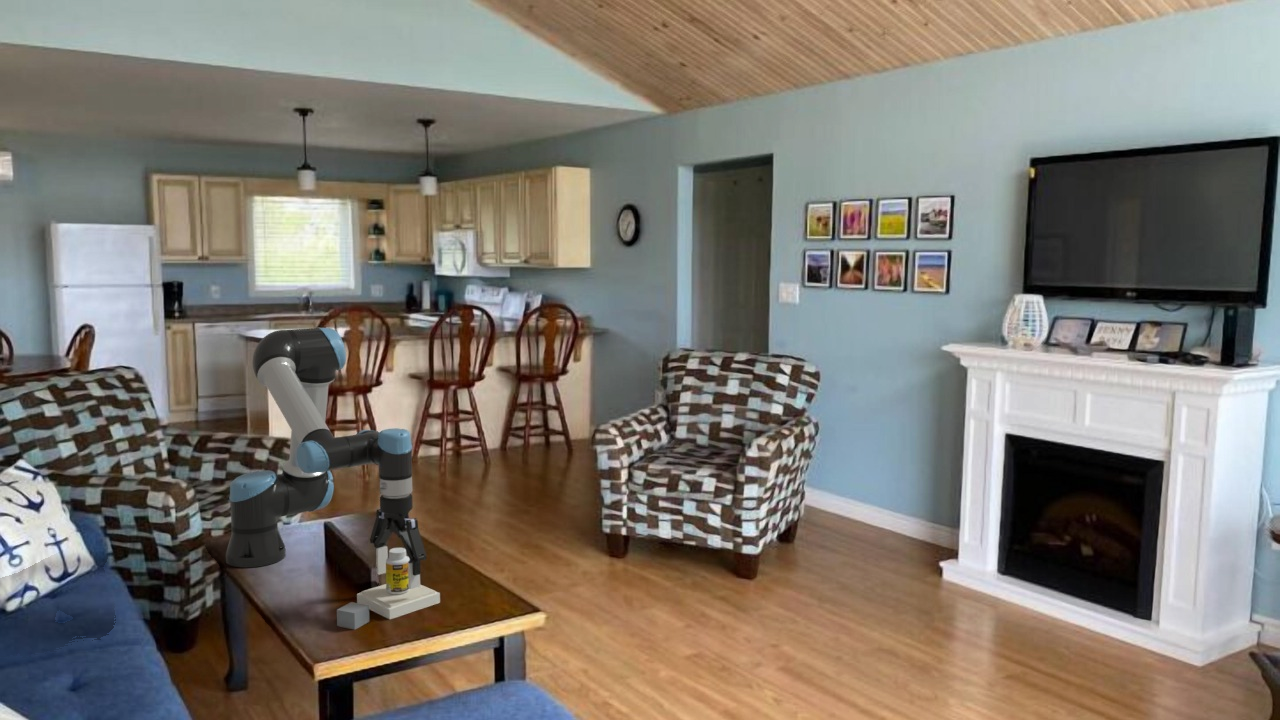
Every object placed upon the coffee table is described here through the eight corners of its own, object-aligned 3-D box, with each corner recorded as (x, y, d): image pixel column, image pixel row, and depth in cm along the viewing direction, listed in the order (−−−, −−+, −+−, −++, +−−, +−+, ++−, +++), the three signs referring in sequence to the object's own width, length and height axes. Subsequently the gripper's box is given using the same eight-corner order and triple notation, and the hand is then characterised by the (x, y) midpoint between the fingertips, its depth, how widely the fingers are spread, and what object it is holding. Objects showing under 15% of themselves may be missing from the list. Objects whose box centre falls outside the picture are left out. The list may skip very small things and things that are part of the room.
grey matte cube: (337, 626, 214) (336, 609, 213) (351, 618, 218) (351, 602, 218) (355, 630, 212) (354, 613, 211) (369, 622, 217) (368, 605, 216)
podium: (357, 603, 227) (356, 591, 227) (406, 587, 237) (406, 576, 237) (389, 619, 218) (389, 607, 217) (440, 602, 228) (439, 590, 228)
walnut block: (375, 582, 241) (375, 563, 240) (391, 579, 243) (390, 561, 242) (381, 588, 237) (381, 569, 236) (397, 585, 239) (397, 566, 238)
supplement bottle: (390, 597, 223) (389, 555, 222) (383, 589, 228) (382, 548, 227) (413, 592, 226) (412, 551, 225) (405, 585, 231) (404, 544, 230)
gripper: (353, 487, 230) (356, 571, 232) (413, 508, 213) (414, 598, 216) (380, 481, 235) (382, 563, 238) (440, 501, 218) (442, 589, 221)
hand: (398, 580), depth 227 cm, fingers open, 13 cm apart
